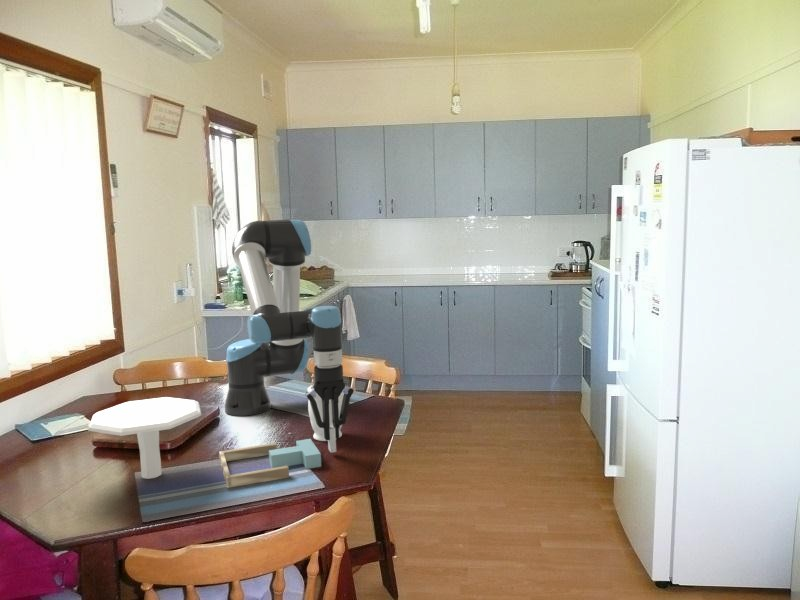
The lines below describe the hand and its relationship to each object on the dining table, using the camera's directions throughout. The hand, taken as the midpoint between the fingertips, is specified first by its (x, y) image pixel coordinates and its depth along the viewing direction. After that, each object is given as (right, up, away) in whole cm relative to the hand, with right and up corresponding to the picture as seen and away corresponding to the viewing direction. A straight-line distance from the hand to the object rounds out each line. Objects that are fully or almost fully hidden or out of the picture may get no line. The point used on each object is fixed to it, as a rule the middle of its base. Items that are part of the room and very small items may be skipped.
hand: (332, 450), depth 171 cm
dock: (-19, -3, -7) cm, 21 cm away
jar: (-3, 0, +15) cm, 15 cm away
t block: (-10, -2, -3) cm, 11 cm away
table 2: (-45, -4, -9) cm, 46 cm away
